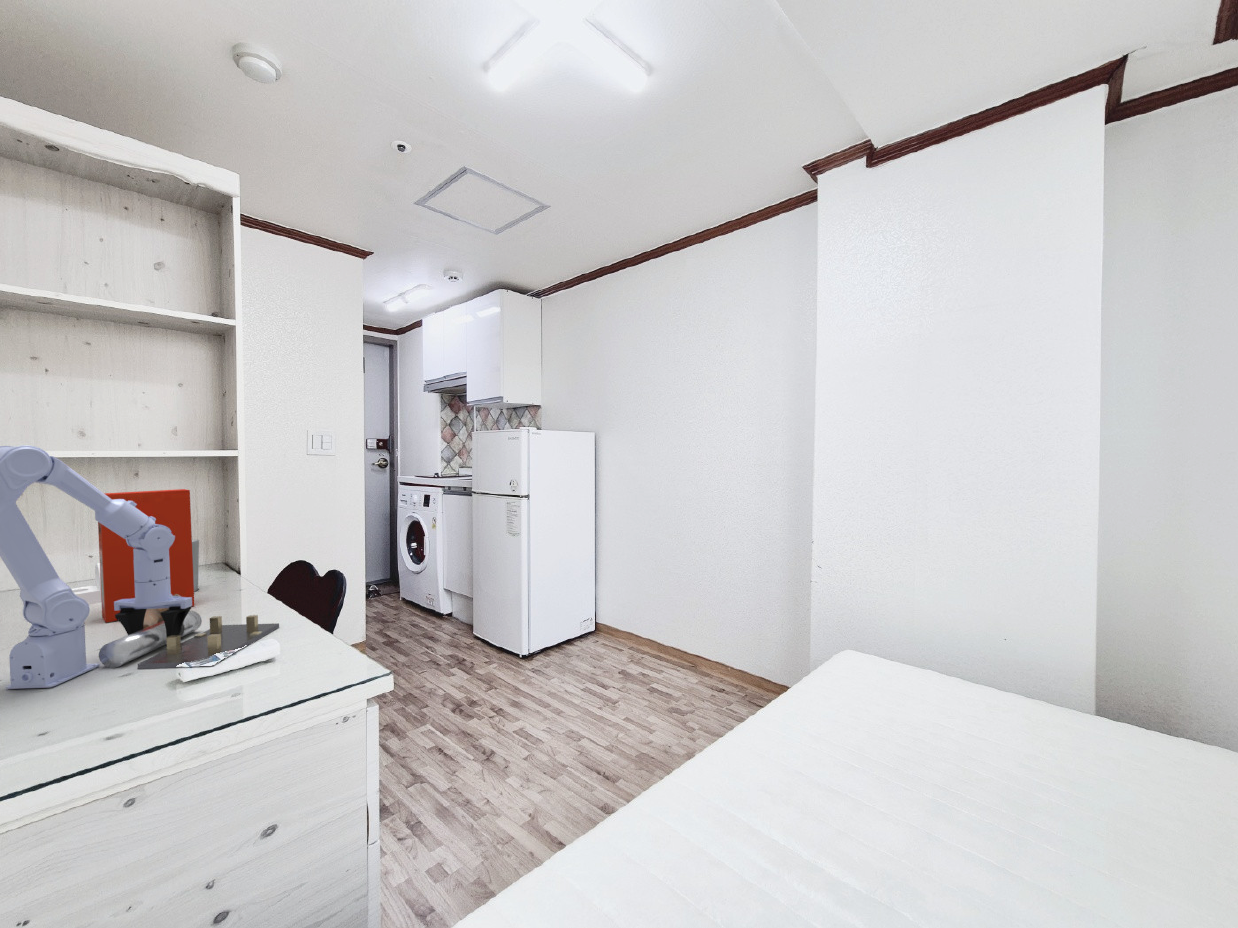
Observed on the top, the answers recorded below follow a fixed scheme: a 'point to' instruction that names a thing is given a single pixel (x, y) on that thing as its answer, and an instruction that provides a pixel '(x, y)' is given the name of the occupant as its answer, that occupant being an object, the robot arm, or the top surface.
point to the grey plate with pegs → (209, 642)
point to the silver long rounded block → (143, 641)
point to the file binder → (119, 555)
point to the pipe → (154, 616)
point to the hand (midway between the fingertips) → (155, 641)
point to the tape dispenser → (91, 589)
